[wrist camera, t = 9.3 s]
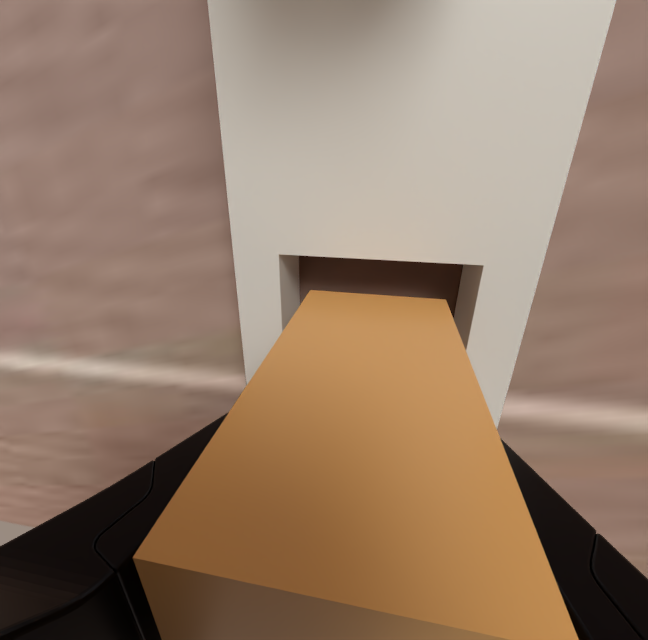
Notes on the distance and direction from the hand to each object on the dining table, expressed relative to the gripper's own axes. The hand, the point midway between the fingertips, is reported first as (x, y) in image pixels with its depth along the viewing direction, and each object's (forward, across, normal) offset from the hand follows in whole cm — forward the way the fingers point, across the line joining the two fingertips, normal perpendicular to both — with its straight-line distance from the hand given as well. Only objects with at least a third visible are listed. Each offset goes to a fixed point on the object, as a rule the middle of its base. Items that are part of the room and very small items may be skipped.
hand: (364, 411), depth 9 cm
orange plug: (+3, 0, 0) cm, 3 cm away
